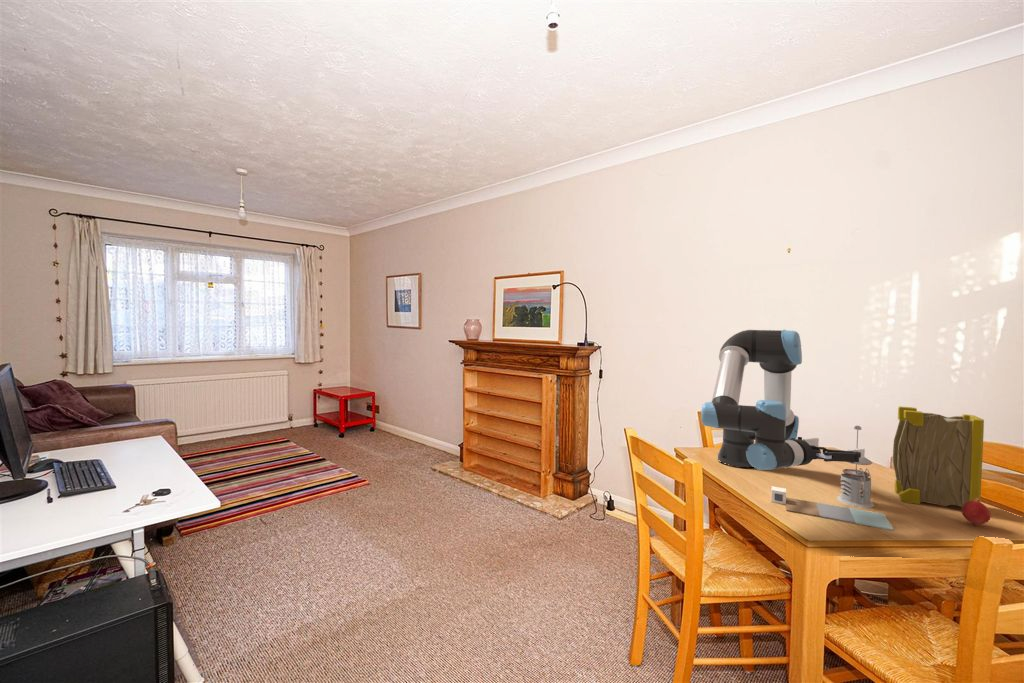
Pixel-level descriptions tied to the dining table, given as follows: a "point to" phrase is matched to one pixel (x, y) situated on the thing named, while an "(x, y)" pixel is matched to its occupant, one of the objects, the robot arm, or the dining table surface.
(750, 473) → the dining table surface
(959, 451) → the decorative book
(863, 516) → the tile teal
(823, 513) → the tile slate
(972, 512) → the onion
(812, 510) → the tile walnut
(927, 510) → the dining table surface
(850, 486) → the french press
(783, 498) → the letter cube
